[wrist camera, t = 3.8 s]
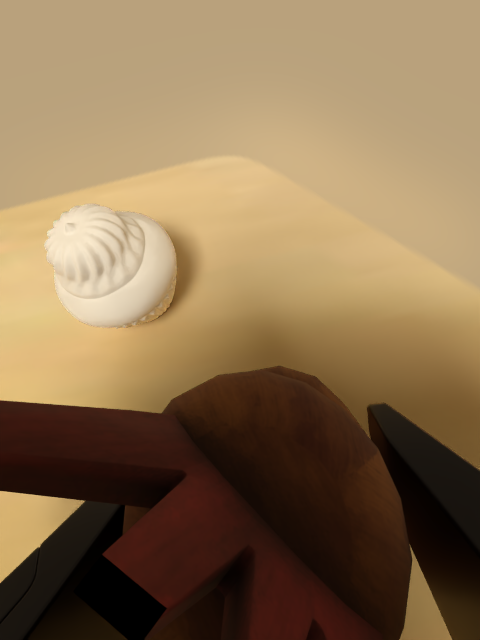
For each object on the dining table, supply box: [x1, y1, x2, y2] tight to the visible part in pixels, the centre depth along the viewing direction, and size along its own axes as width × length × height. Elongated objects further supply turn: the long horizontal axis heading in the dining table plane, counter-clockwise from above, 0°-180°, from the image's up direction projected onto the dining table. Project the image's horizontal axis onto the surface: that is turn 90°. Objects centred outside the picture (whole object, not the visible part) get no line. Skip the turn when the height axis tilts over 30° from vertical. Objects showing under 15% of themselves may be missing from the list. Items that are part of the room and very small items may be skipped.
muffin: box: [44, 204, 177, 328], centre depth 16 cm, size 6×6×7 cm
